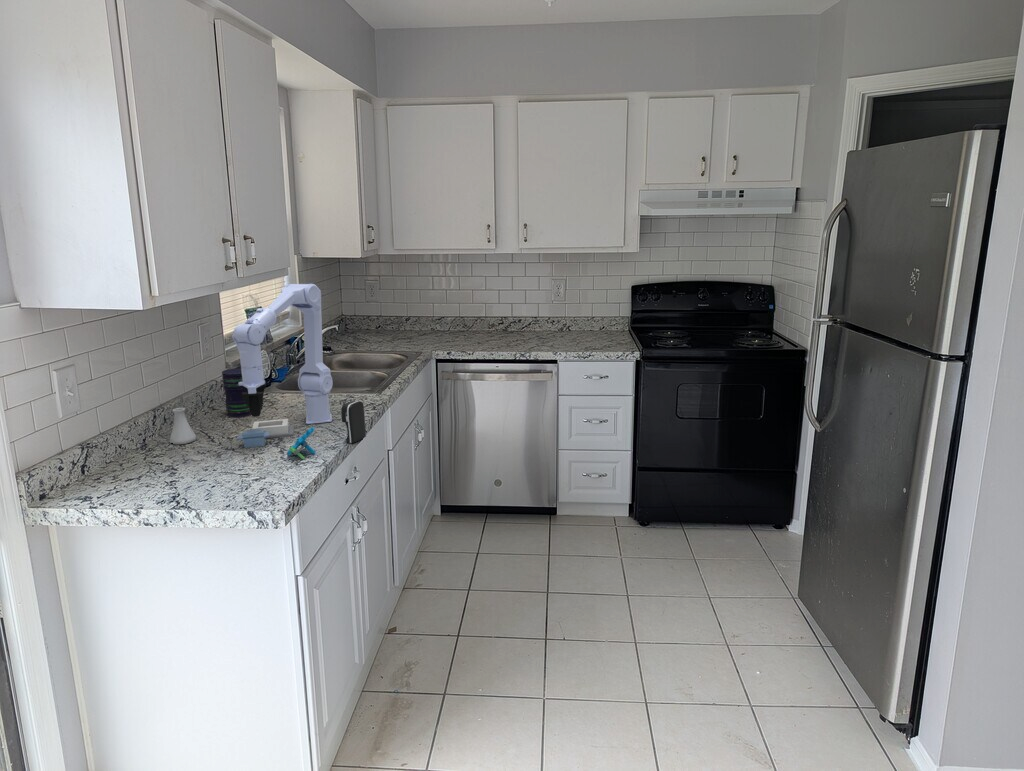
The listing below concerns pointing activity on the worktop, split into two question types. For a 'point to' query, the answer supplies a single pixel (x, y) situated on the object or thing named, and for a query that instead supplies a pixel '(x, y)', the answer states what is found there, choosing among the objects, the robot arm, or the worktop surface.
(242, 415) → the storage jar
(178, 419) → the flask
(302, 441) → the gear
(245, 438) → the block
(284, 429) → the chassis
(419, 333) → the worktop surface
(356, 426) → the battery charger
